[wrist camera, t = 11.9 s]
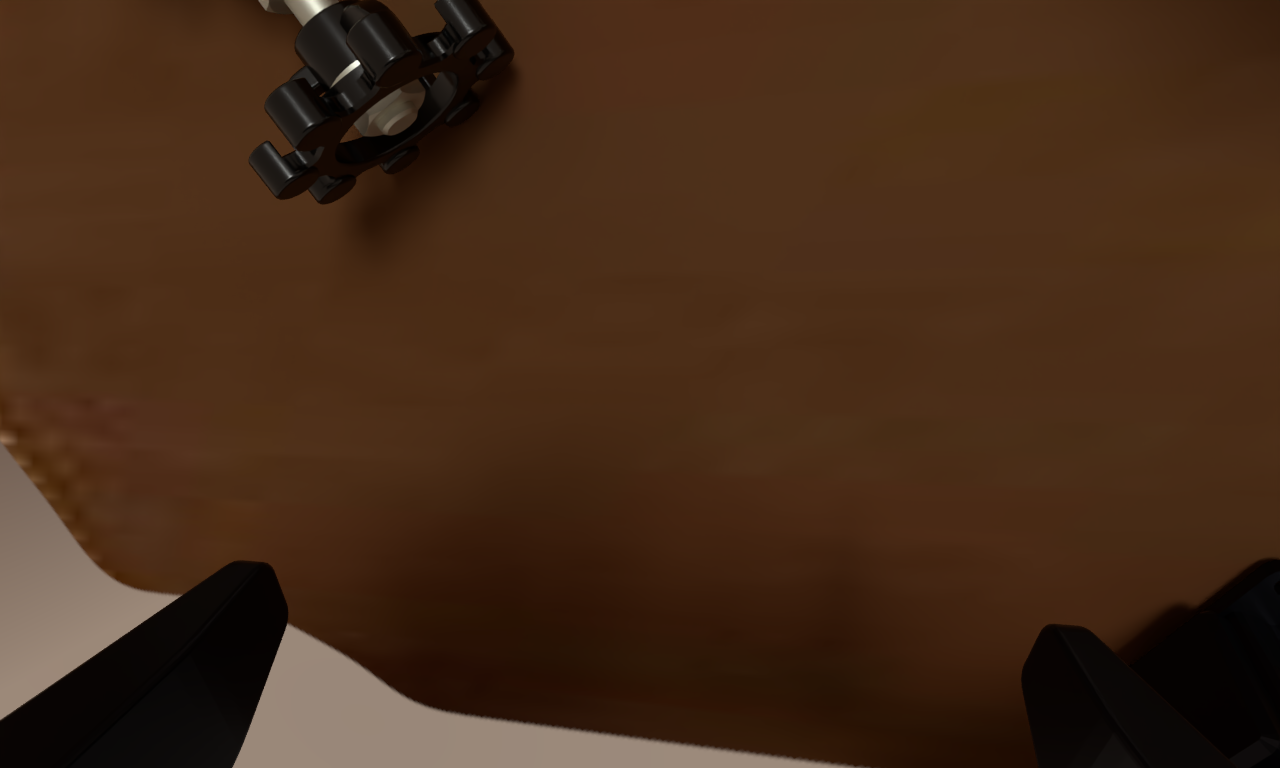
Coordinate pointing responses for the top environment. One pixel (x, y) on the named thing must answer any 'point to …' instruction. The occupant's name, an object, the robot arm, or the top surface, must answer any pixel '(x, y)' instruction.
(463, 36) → the valve
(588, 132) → the top surface
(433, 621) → the top surface
